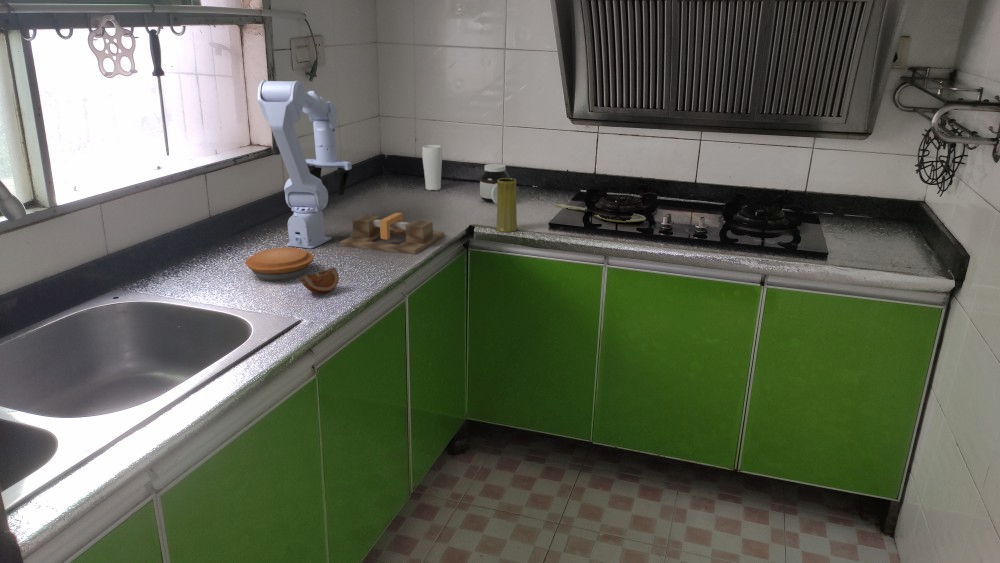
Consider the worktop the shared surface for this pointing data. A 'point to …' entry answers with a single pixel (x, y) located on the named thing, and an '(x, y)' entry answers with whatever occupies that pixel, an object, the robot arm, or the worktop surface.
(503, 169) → the spread jar
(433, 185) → the drinking glass
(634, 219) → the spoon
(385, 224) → the tan wooden angled block
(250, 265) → the pie
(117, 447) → the worktop surface
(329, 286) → the fruit slice
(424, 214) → the worktop surface
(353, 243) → the hook stand
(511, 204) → the vase
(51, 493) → the worktop surface
